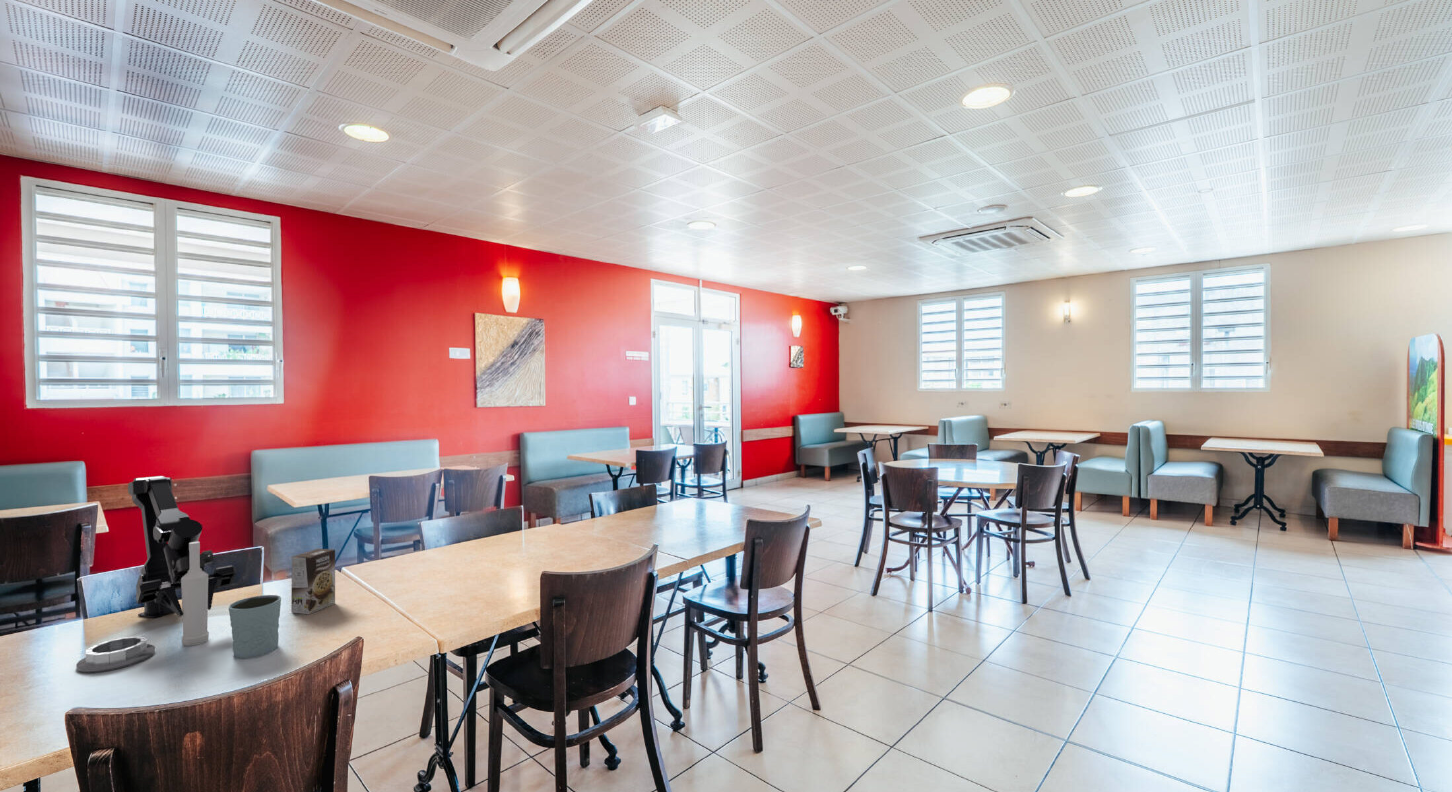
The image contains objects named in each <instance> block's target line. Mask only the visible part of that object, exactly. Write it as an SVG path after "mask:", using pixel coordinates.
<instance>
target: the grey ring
mask: <svg viewBox="0 0 1452 792" xmlns="http://www.w3.org/2000/svg"><path fill="white" fill-rule="evenodd" d="M155 653H156V647H155V645H153V644H150V643H148V640H147V637H146V636H139V635H136V636H124V637H119V638H115V639H114V638H113V639H108V640H106V641H103V642H100V643H96V644H94V645H92V646H91V647H89V648H86V649H85V657H83V658H81V659H80V660H78V661H77V663H76V665H75V666H76V667H75V668H76V671H77V672H78V673H82V674H96V673H97V674H98V673H104V672H105V673H107V672H111V671H115V670H116V671H117V670H120V669H121V670H122V669H124V668H127V667H131V666H135V665H137V664H139V663H142V662H144V661H147V660H148V659H150V658H152V657H153V656H154V655H156V654H155Z"/></svg>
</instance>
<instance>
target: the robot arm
mask: <svg viewBox="0 0 1452 792" xmlns="http://www.w3.org/2000/svg"><path fill="white" fill-rule="evenodd" d="M127 491H128V495H129V496H131V501H132V503H134V505H135V506H136V507H138V509H140V510H141V518H142V524H143V525H142V526H143V535H144V541H145V550H146V557H147V558H146V561H145V562H144V564H143V567H142V568H141V569H140V575H139V576H138V579H137V583H136V585H135V590H136V593H135V599H136V604H139V605H142V604H143V605H144V606H143V608H144V610H143V612H139V613H138V614H137V616H138V617H144V618H152V619H155V618H160V617H162V616H166V615H168V614H171V613H175V614H176V615H177V616H178V617H180V618H182V605H181V603H180V601H179V599H178V596H177V592H176V590H181V578H182V577H183V576H184V575H185V574H187V573H188V570H189V569H190V563H189V543H191V542H199V539H200V536H201V534H202V531H203V524H201V523H200V522H199V521H198V520H194V519H192V518H190V516H189V515H188V514H187V513H186V512H183V511H181V510H180V509H179V507H178V503H177V502H176V499H175V496H174V493H173V480H172V477H166V476H164V475H157V476H156V475H155V476H146V477H136V478H134V479H133V481H131V482H128V486H127ZM214 560H215V557H214V554H213V550H212V549H209V550H203V551H202V552H201V553H200V568H201V569H202V571H204V572H205V569H204V568H205V567H206V566H207V565H211V564H212V563H214V562H215V561H214ZM237 573H238V572H237V569H236V567H235V566H234V565H232V564H231V565H225V566H222V567H221V566H219V567H216V568H215V569H214V571H213V573H212V574H208V611H210V610H211V609H212V603H213V599H214V593H215V591H218V590H219V589H220V588H222V587H226V586H230V585H232V584H233V582H234V580H235V578H236V576H237Z"/></svg>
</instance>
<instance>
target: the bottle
mask: <svg viewBox="0 0 1452 792" xmlns="http://www.w3.org/2000/svg"><path fill="white" fill-rule="evenodd" d="M200 543H201V542H200V541H198V542H191V543H189V563H190V569H189V570H188V573H187V574H185V575H184V576H183V577H182V578H181V589H180V590H181V609H182V616H181V618H182V636H181V644H182V646H184V647H190V646H191V647H192V646H193V647H194V646H197V645H200V644H201V645H202V644H204V643H206V642H207V641H208V640H209V635H210V632H209V630H208V619H209V618H208V617H209V616H208V613H209V612H208V611H209V610H208V575H209V573H207V572H205V570H204V571H202V569H201V568H200V554H201V553H200V552H201V551H200V549H201V544H200Z"/></svg>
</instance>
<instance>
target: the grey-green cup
mask: <svg viewBox="0 0 1452 792" xmlns="http://www.w3.org/2000/svg"><path fill="white" fill-rule="evenodd" d="M281 605H282V597H281V596H280V595H277V594H264V595H257V596H251V597H246V598H242V599H240V600H237V601H234V602H233V603H231V604H229V605H228V611H229V613H228V614H229V617H230V618H229V621H230V628H231V637H232V643H231V644H232V652H233V654H232V655H233V657H234V658H237V659H253V658H258V657H263V656H265V655H267V654H268V655H269V654H270V653H272V652H273V651H275V650H276V649H278V646H279V639H280V638H279V636H280V635H279V628H280V623H279V622H280V621H279V619H280V616H281Z"/></svg>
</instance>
